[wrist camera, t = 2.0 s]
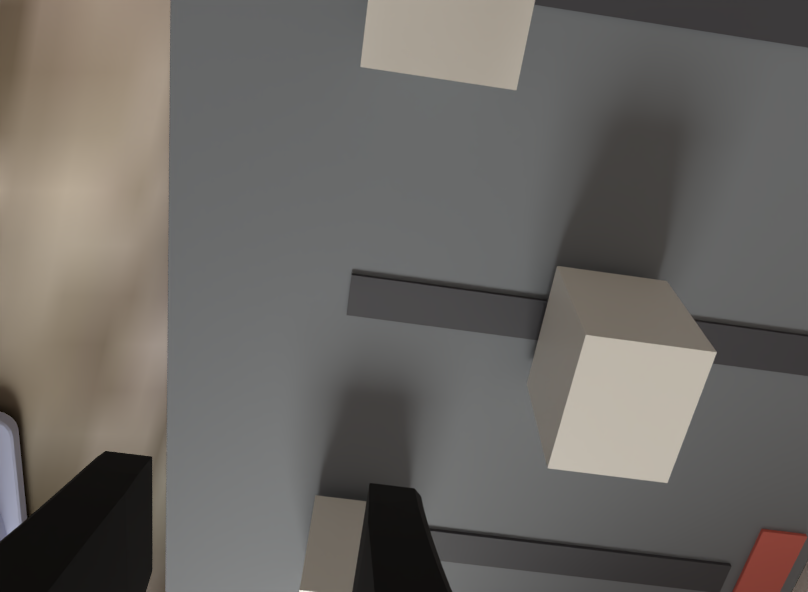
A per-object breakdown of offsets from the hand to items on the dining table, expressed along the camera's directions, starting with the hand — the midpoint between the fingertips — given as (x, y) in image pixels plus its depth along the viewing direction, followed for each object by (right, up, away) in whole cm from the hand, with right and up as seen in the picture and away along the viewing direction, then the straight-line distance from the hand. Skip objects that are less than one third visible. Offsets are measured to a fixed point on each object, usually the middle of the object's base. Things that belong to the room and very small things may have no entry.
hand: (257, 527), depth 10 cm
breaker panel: (+5, +3, +8) cm, 10 cm away
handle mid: (+6, +2, +7) cm, 9 cm away
